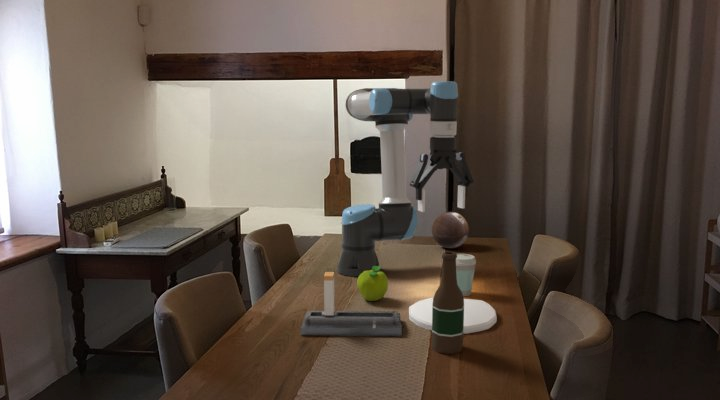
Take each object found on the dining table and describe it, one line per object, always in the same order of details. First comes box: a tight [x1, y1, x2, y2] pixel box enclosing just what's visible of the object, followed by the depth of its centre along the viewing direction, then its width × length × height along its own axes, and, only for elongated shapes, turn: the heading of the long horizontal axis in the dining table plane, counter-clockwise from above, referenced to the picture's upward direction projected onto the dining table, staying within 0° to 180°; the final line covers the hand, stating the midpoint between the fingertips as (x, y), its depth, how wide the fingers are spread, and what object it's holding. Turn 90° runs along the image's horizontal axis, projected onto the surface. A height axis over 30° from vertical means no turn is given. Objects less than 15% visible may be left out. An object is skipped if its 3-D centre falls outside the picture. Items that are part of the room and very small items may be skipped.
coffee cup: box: [456, 253, 477, 297], centre depth 199 cm, size 8×8×12 cm
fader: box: [321, 271, 338, 316], centre depth 169 cm, size 4×4×12 cm
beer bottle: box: [431, 251, 465, 355], centre depth 154 cm, size 8×8×24 cm
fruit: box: [356, 265, 389, 302], centre depth 193 cm, size 9×9×10 cm
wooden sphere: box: [431, 211, 470, 249], centre depth 261 cm, size 15×15×15 cm
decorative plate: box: [408, 296, 498, 335], centre depth 178 cm, size 25×4×25 cm
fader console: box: [300, 310, 403, 337], centre depth 170 cm, size 26×12×4 cm, turn 89°
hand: (441, 209), depth 185 cm, fingers open, 13 cm apart
